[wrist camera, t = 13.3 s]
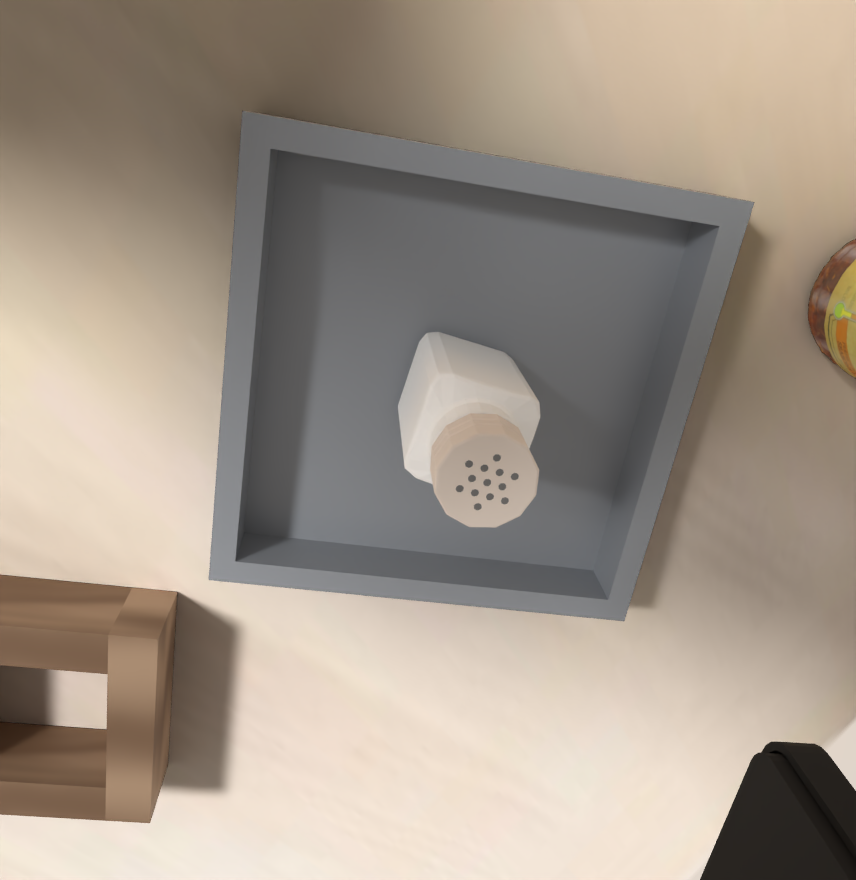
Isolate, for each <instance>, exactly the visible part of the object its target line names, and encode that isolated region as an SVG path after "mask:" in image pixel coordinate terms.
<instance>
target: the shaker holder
mask: <svg viewBox="0 0 856 880" xmlns="http://www.w3.org/2000/svg"><path fill="white" fill-rule="evenodd" d="M176 608H177V592H172V591H161V590H151V589H141V588H130V587H120V586H110V585H99V584H89V583H79V582H68V581H58V580H48V579H37V578H27V577H17V576H6V575H0V665H4V666H16V667H28V668H41V669H53V670H65V671H77V672H89V673H101V674H108V685H107V730H101V729H87V728H74V727H60V726H46V725H32V724H19V723H5V722H0V814H2V815H19V816H37V817H54V818H71V819H88V820H105V821H123V822H140V823H150V821H151V818H152V815H153V812H154V808H155V805H156V802H157V799H158V796H159V792H160V789H161V786H162V783H163V779H164V776H165V773H166V770H167V767H168V755H169V736H170V718H171V700H172V681H173V663H174V644H175V626H176Z"/></svg>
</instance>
